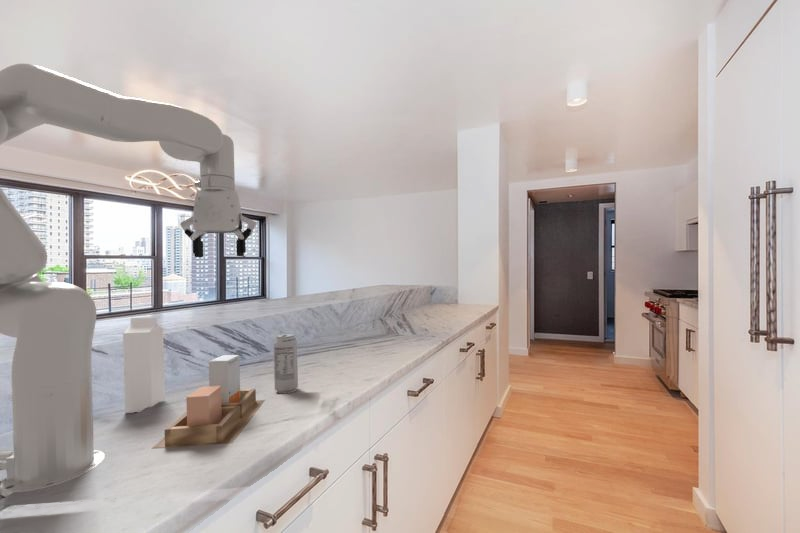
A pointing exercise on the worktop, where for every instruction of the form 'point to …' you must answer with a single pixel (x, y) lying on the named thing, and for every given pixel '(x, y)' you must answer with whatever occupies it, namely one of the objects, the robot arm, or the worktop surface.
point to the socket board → (221, 433)
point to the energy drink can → (285, 363)
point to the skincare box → (226, 377)
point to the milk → (143, 364)
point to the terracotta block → (204, 406)
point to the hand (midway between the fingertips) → (219, 256)
